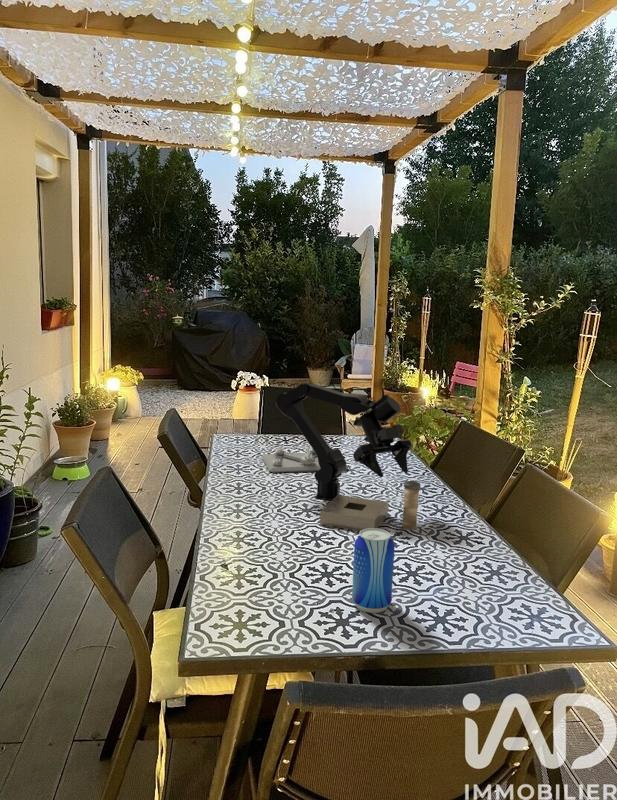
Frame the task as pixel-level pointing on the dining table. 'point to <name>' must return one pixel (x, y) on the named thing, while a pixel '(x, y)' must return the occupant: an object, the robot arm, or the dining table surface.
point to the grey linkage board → (292, 461)
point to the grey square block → (354, 513)
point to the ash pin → (410, 504)
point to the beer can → (373, 570)
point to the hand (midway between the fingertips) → (394, 474)
